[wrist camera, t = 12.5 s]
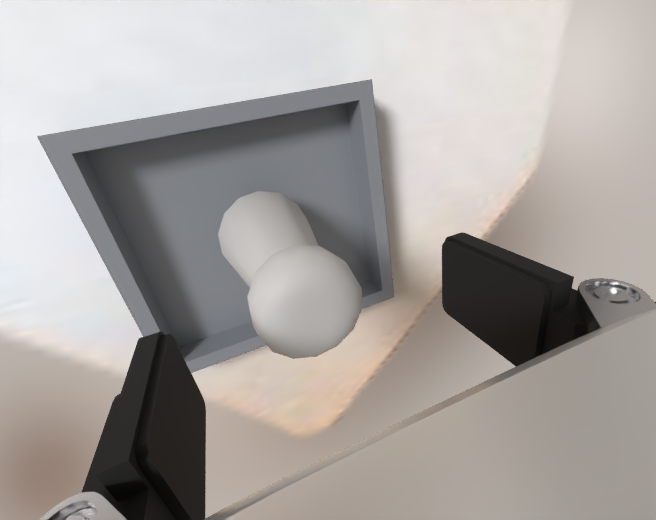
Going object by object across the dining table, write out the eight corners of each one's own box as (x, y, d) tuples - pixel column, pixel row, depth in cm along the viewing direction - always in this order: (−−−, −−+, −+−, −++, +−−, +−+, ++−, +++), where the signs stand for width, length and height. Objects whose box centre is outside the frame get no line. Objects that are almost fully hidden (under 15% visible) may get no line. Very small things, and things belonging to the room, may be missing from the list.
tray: (351, 86, 22) (371, 79, 19) (376, 282, 29) (394, 296, 26) (62, 136, 17) (36, 136, 15) (171, 355, 24) (167, 382, 21)
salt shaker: (303, 191, 22) (405, 243, 11) (295, 265, 24) (374, 376, 13) (218, 181, 20) (235, 235, 9) (215, 264, 22) (226, 396, 11)
